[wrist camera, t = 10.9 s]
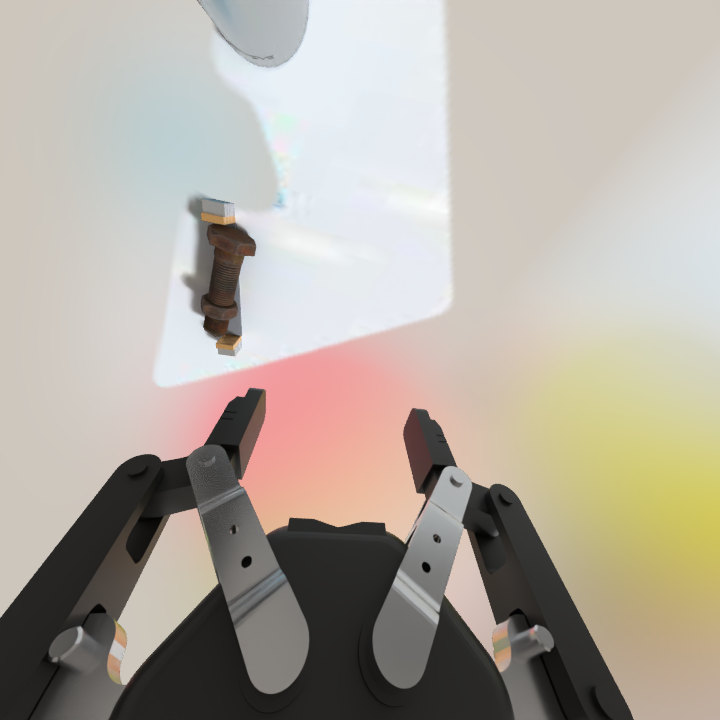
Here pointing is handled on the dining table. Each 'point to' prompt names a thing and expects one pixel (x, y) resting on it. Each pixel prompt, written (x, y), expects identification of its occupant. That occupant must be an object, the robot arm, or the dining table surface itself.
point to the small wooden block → (229, 345)
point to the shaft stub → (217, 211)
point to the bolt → (224, 276)
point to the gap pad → (235, 323)
